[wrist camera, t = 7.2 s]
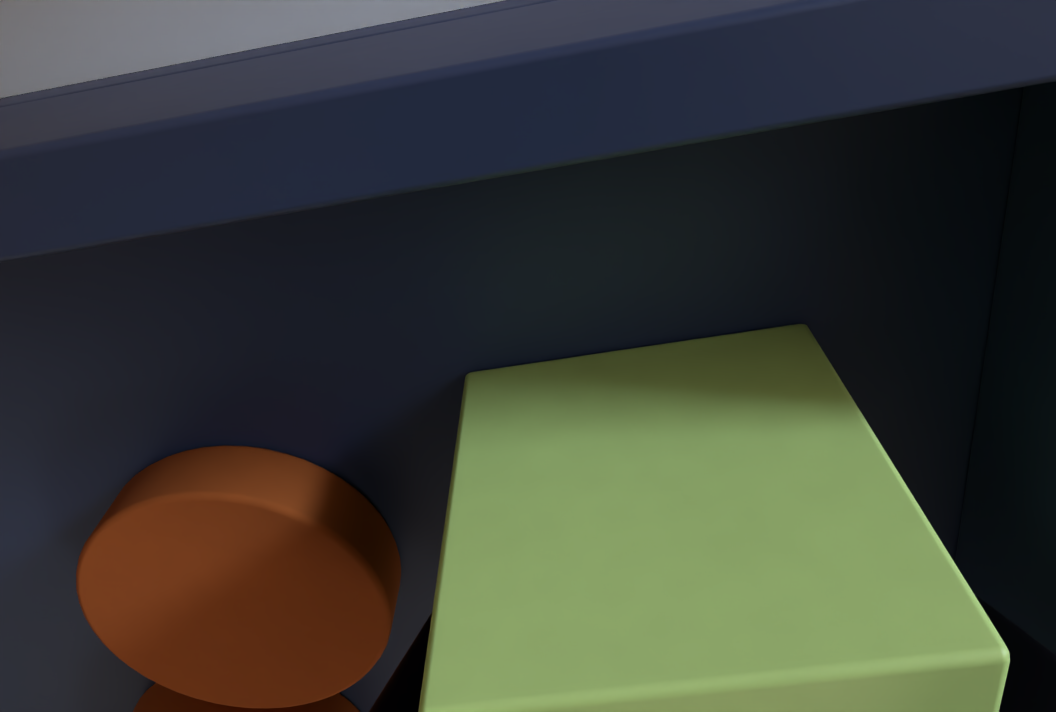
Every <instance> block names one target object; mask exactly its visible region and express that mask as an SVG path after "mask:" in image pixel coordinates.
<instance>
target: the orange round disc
mask: <svg viewBox="0 0 1056 712" xmlns="http://www.w3.org/2000/svg"><path fill="white" fill-rule="evenodd" d="M133 712H360V711H359V710H358V709H357V708H356V707H355V706H354V705H353V704H352V703H351V702H350V701H349V700H348V699H346V698H345V697H344V696H342V695H341V694H340V693H337V694H335V695H333V696H330V697H328V698H325V699H322V700H320V701H316V702H312V703H308V704H304V705H298V706H291V707H283V708H244V707H234V706H227V705H222V704H216V703H211V702H208V701H204V700H200V699H196V698H193V697H190V696H187V695H184V694H181V693H178V692H176V691H173V690H171V689H169V688H166V687H164V686H162V685H160V684H158V683H155V684H154V685H153V686H151V687H150V688H149V689H148V690H147V691H146V692H145V693H144V694H143V695H142V697H141V698H140V699H139V701H138V703H137V705H136V706H135V708H134V710H133Z"/></svg>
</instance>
